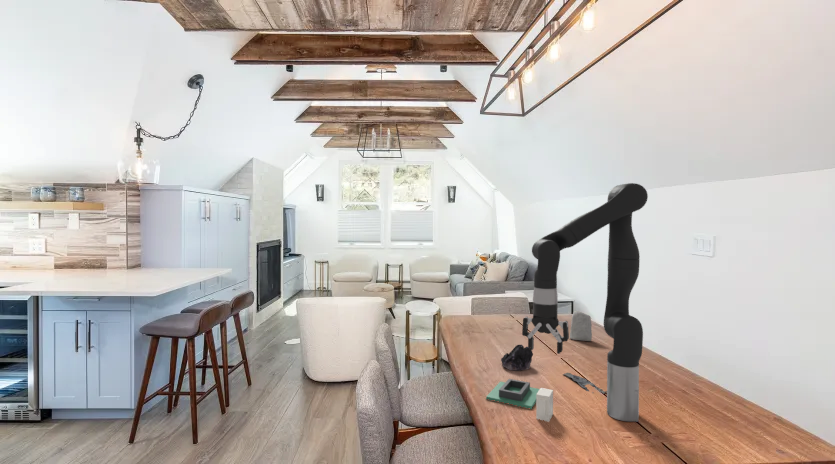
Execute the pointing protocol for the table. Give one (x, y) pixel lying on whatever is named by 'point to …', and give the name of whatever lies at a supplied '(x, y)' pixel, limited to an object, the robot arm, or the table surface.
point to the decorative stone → (581, 327)
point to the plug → (544, 404)
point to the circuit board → (514, 393)
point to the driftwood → (583, 382)
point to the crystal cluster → (518, 358)
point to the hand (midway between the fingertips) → (545, 351)
